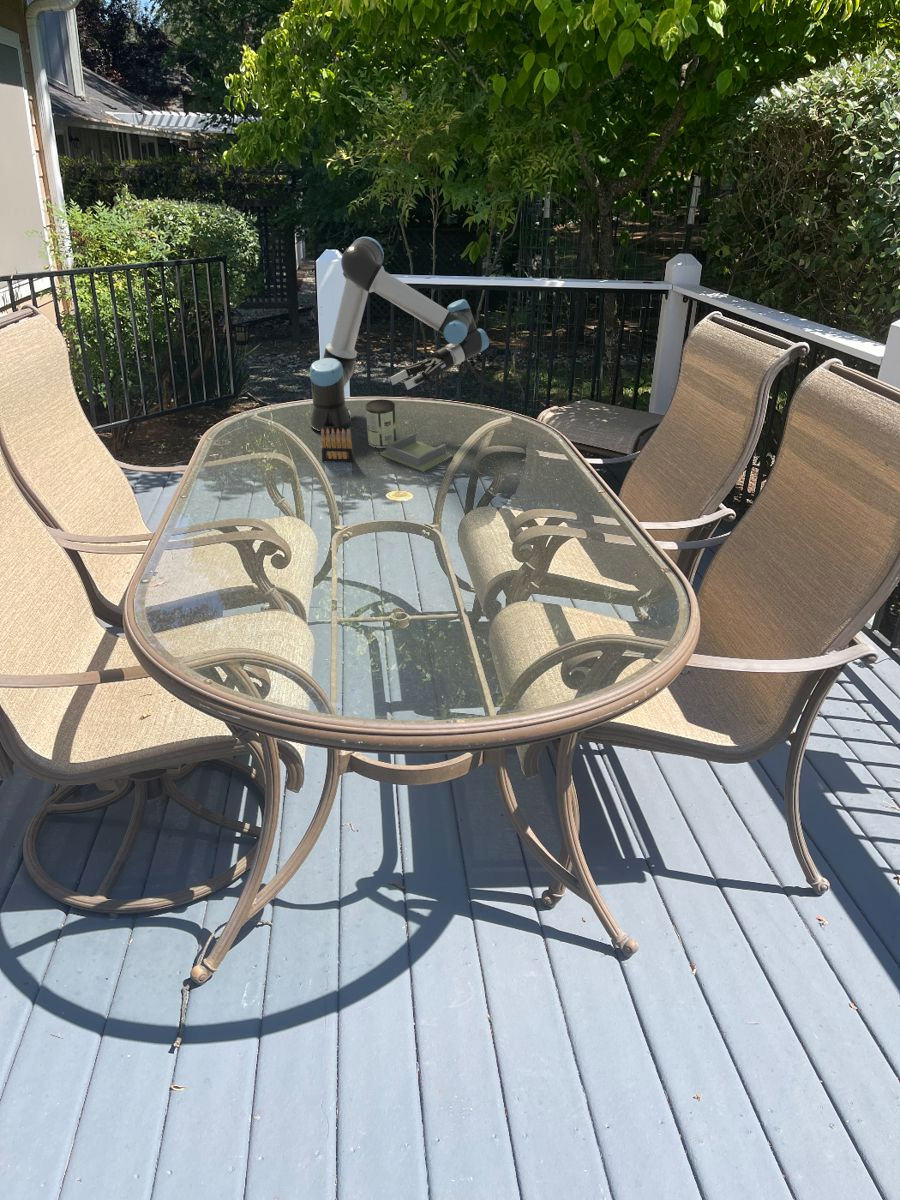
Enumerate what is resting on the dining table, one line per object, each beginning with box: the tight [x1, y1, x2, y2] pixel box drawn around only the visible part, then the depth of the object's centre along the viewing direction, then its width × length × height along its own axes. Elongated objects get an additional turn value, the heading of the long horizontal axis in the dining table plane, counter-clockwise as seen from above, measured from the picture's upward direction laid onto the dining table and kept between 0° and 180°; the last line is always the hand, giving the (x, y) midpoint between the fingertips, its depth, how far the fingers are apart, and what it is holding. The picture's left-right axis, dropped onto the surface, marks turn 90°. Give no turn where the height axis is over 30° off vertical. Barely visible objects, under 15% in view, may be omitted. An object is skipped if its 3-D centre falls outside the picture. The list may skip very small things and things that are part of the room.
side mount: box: [379, 432, 449, 473], centre depth 303 cm, size 20×15×4 cm
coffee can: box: [364, 398, 398, 449], centre depth 310 cm, size 10×10×14 cm
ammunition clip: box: [320, 428, 355, 463], centre depth 298 cm, size 11×2×12 cm, turn 87°
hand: (398, 383), depth 308 cm, fingers open, 13 cm apart
